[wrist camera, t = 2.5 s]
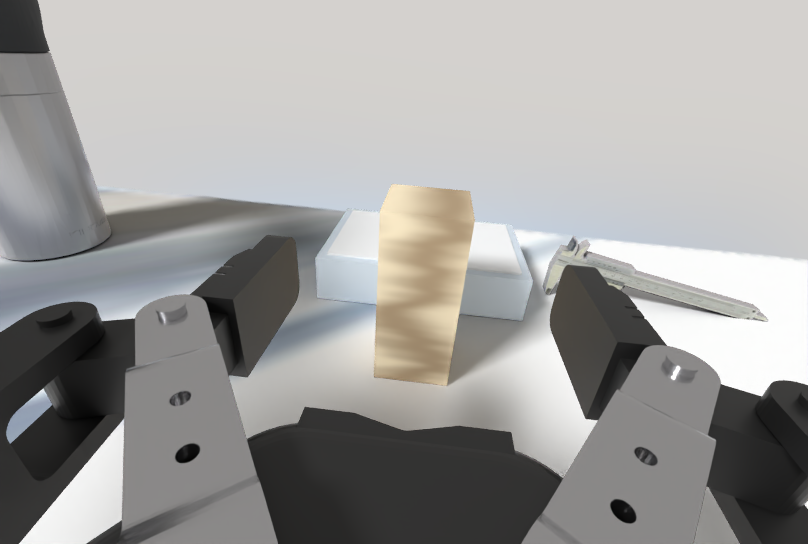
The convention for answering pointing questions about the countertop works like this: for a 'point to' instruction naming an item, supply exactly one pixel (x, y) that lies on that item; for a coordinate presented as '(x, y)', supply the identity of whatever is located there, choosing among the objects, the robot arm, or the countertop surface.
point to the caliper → (644, 282)
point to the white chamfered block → (484, 282)
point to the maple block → (420, 281)
